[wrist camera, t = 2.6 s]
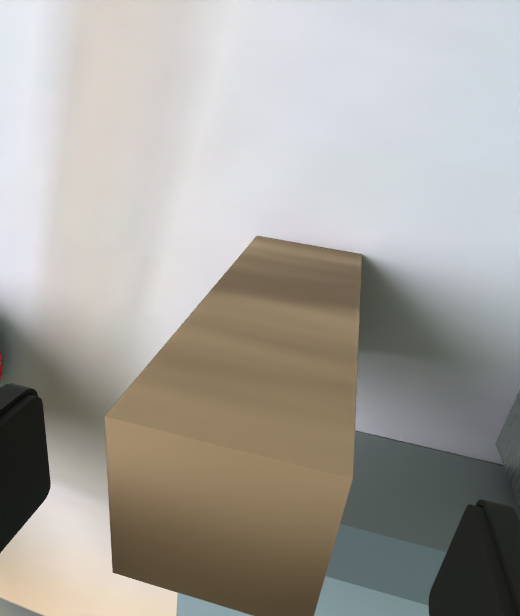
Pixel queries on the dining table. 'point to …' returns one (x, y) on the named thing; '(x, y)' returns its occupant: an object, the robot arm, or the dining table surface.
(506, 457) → the short pin
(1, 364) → the soda can
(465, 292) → the dining table surface
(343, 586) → the board
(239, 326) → the long pin
